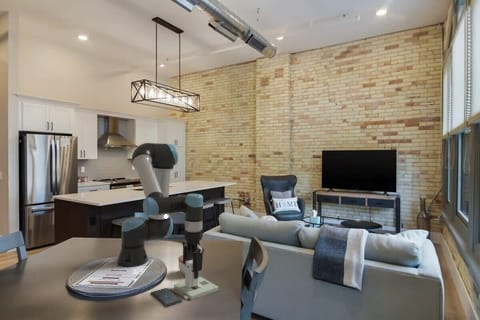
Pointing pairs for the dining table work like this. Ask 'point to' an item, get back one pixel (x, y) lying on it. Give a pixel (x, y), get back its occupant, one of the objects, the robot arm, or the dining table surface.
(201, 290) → the outlet plate
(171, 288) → the grey pen
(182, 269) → the lidded jar
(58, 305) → the dining table surface
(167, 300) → the phone
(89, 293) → the dining table surface
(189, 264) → the block
